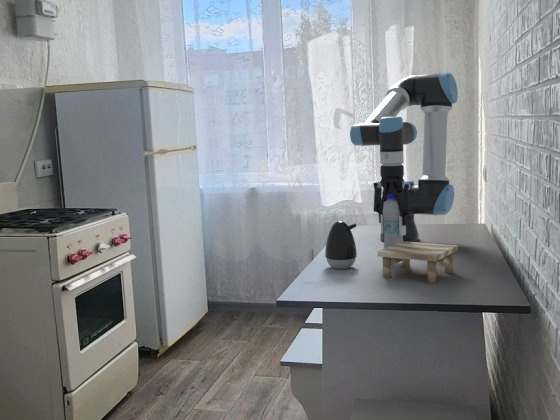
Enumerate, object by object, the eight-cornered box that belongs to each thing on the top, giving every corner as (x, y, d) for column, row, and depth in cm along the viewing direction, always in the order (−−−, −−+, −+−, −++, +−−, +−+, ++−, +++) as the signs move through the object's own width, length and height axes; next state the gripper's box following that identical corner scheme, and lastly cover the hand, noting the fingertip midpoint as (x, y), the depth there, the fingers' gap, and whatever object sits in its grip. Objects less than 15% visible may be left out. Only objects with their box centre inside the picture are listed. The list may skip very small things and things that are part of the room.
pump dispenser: (353, 271, 191) (352, 223, 189) (321, 270, 195) (320, 223, 193) (360, 264, 201) (359, 219, 199) (330, 263, 204) (329, 218, 202)
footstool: (402, 265, 197) (402, 241, 196) (457, 271, 186) (457, 245, 185) (378, 277, 182) (377, 251, 181) (436, 284, 172) (435, 256, 171)
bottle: (404, 254, 199) (402, 193, 196) (383, 254, 200) (381, 193, 197) (404, 249, 205) (402, 190, 202) (383, 249, 207) (382, 191, 204)
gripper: (360, 165, 203) (362, 233, 206) (411, 166, 189) (412, 238, 192) (374, 163, 208) (376, 229, 211) (424, 164, 194) (425, 235, 198)
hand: (393, 234), depth 202 cm, fingers closed on bottle, 6 cm apart
